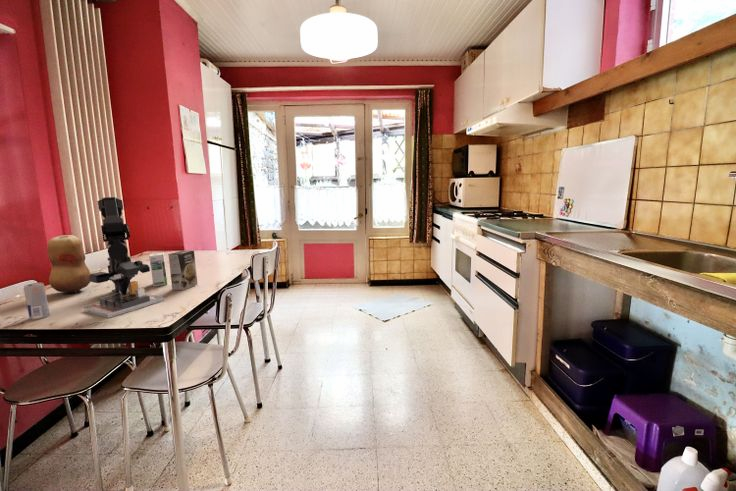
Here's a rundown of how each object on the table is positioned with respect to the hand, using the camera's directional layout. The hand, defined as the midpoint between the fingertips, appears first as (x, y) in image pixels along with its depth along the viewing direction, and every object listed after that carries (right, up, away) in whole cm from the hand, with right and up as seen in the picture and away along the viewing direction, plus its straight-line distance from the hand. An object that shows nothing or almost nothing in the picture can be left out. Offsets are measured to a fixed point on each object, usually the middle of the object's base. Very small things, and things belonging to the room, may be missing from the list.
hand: (124, 294), depth 134 cm
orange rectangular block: (+2, 0, +3) cm, 4 cm away
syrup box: (-3, +1, +29) cm, 29 cm away
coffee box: (+11, 0, +24) cm, 26 cm away
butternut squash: (-35, -2, +19) cm, 40 cm away
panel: (0, -4, +1) cm, 5 cm away
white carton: (-23, -7, -9) cm, 26 cm away
